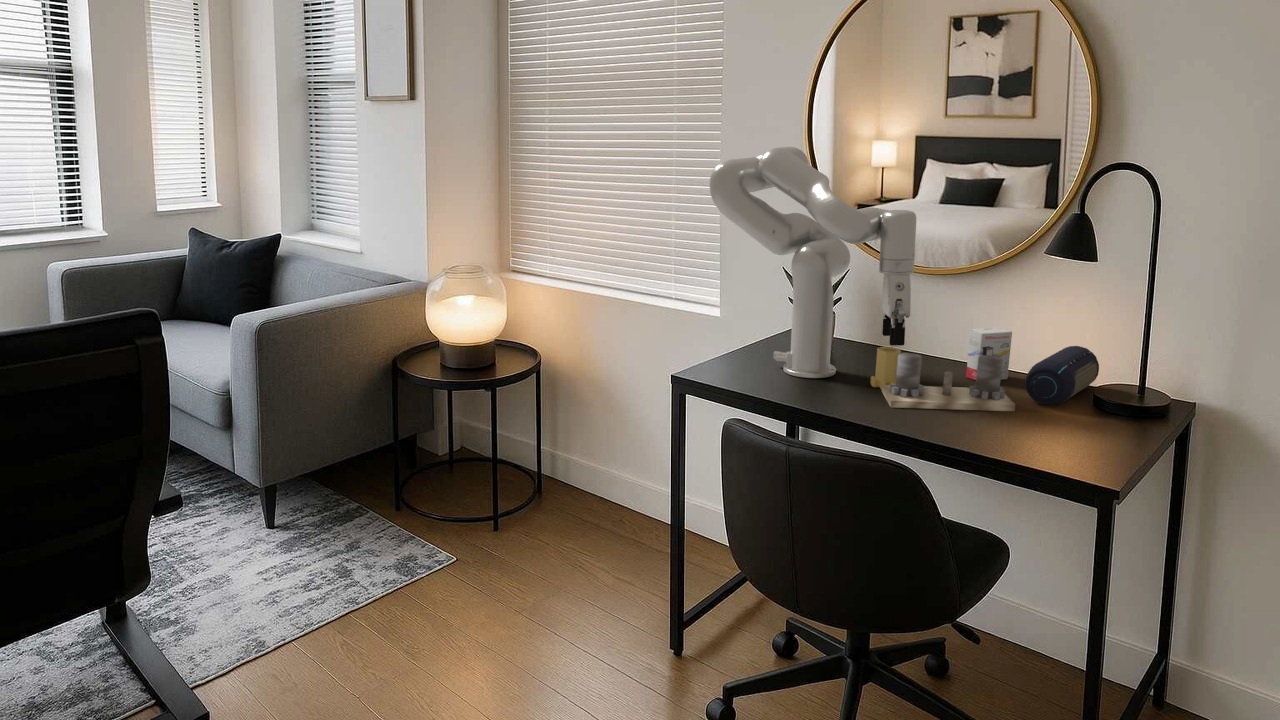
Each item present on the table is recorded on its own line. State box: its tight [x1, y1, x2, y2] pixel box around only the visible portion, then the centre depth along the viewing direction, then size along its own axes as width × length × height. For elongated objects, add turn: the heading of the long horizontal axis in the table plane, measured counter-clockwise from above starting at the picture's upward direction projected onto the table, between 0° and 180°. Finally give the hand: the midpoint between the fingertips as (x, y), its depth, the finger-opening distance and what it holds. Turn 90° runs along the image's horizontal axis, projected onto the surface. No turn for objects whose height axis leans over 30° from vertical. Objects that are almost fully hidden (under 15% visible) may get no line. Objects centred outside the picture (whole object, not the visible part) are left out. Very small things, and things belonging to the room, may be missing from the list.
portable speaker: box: [1024, 345, 1100, 406], centre depth 217 cm, size 25×10×10 cm, turn 139°
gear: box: [869, 346, 902, 390], centre depth 224 cm, size 7×7×8 cm
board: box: [881, 352, 1016, 412], centre depth 212 cm, size 26×12×10 cm, turn 85°
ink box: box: [965, 327, 1013, 381], centre depth 230 cm, size 9×5×12 cm, turn 107°
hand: (893, 340), depth 222 cm, fingers open, 9 cm apart
